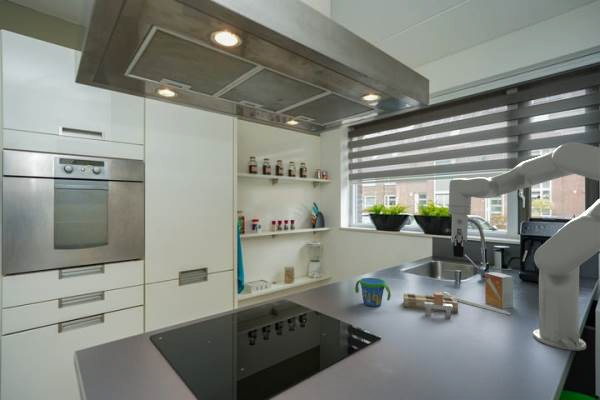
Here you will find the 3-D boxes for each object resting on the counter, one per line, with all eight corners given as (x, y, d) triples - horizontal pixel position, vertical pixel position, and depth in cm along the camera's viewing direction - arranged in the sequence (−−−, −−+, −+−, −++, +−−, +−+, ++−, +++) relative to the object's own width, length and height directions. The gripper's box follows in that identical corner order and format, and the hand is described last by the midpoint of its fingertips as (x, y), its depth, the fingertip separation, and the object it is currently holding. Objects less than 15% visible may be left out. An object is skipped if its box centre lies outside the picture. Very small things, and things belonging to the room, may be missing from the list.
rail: (457, 312, 117) (457, 302, 117) (404, 307, 123) (404, 298, 123) (454, 307, 124) (454, 297, 124) (403, 302, 130) (403, 293, 130)
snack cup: (395, 306, 125) (395, 281, 125) (381, 312, 118) (381, 286, 118) (364, 297, 136) (364, 275, 136) (350, 302, 129) (350, 279, 129)
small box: (484, 302, 130) (484, 272, 130) (495, 301, 132) (495, 271, 132) (502, 308, 122) (502, 277, 122) (513, 307, 124) (513, 276, 124)
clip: (453, 318, 111) (453, 295, 111) (424, 315, 114) (424, 293, 114) (451, 315, 114) (451, 293, 114) (423, 313, 117) (423, 291, 117)
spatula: (513, 314, 117) (513, 307, 117) (509, 316, 115) (509, 309, 115) (444, 296, 140) (444, 290, 140) (439, 297, 137) (439, 291, 137)
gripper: (472, 212, 105) (470, 259, 106) (469, 210, 121) (467, 252, 121) (448, 211, 109) (447, 257, 109) (448, 209, 124) (447, 250, 124)
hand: (457, 254), depth 115 cm, fingers open, 9 cm apart
